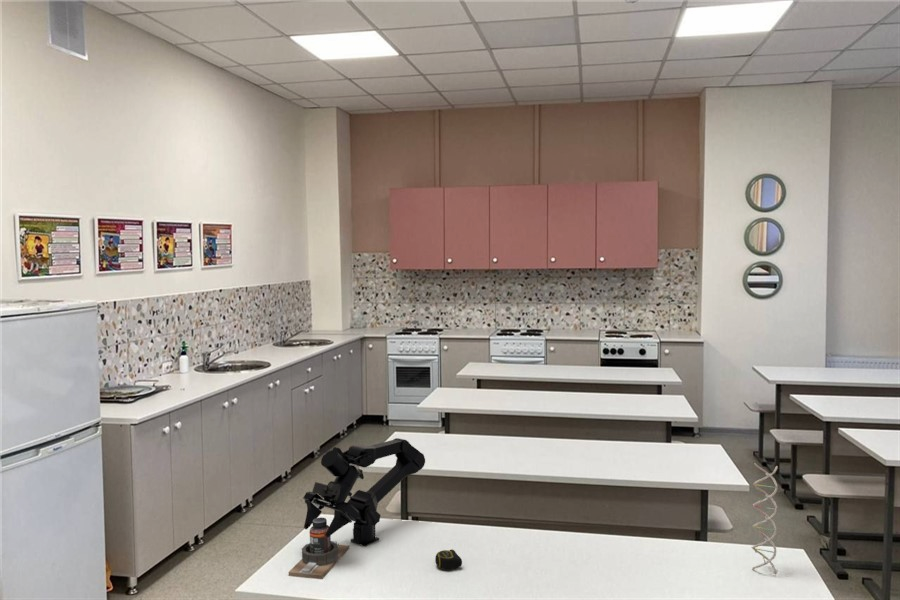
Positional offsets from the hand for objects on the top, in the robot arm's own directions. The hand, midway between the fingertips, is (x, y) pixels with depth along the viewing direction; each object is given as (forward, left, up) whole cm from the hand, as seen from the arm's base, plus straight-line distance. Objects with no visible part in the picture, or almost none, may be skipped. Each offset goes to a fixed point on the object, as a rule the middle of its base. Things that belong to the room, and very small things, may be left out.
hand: (315, 532), depth 201 cm
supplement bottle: (-2, 0, -8) cm, 8 cm away
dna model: (-70, +103, -9) cm, 125 cm away
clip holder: (-1, 0, -9) cm, 9 cm away
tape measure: (-22, +31, -9) cm, 39 cm away
